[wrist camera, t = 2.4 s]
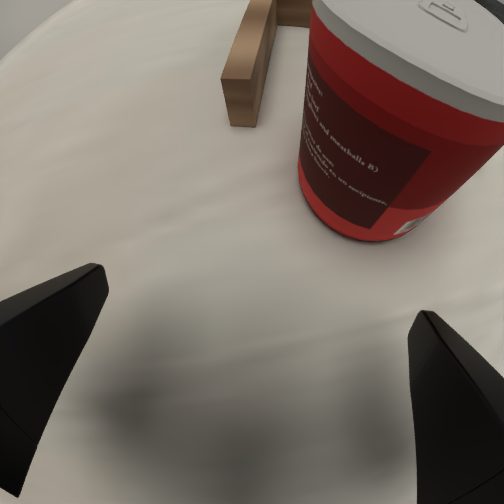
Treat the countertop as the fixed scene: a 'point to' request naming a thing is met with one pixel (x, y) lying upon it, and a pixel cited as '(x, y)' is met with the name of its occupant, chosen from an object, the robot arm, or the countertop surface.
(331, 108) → the canned food
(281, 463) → the countertop surface
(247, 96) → the cradle
